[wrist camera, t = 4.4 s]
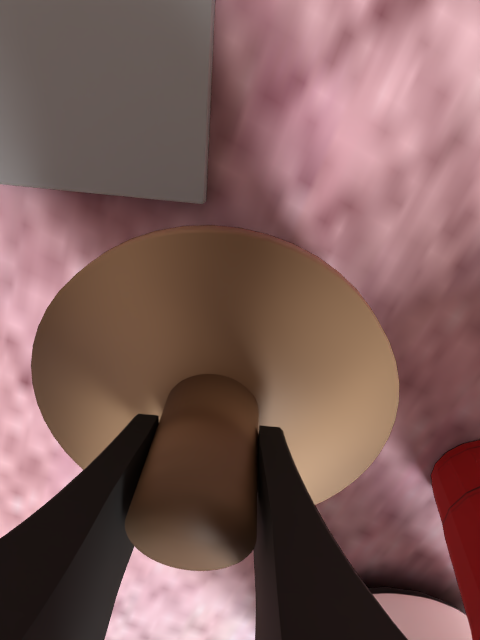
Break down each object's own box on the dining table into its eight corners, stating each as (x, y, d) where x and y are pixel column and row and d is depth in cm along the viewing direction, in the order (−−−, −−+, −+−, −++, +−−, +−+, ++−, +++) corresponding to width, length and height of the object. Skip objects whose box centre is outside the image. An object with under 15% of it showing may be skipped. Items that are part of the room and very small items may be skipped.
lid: (81, 494, 16) (14, 634, 11) (-1, 218, 10) (-193, 290, 6) (358, 512, 15) (394, 664, 11) (433, 231, 9) (569, 320, 5)
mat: (-48, 176, 17) (-65, 177, 16) (-141, -215, 12) (-174, -245, 11) (206, 200, 17) (203, 203, 16) (223, -182, 12) (220, -209, 11)
